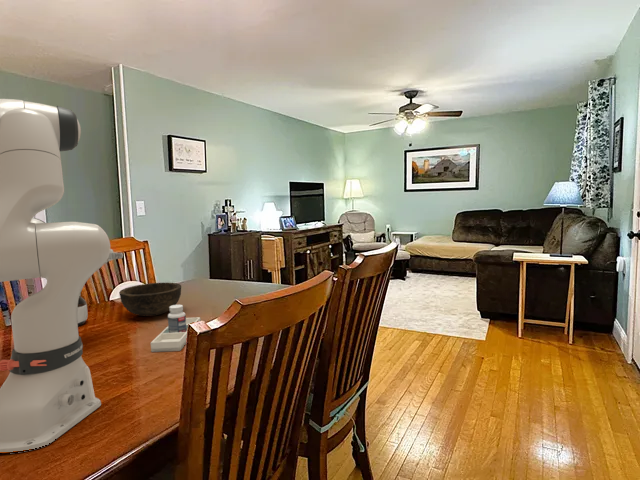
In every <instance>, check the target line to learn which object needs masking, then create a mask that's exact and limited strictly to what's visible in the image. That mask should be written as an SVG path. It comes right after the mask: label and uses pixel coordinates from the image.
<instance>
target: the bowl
mask: <svg viewBox="0 0 640 480" xmlns="http://www.w3.org/2000/svg"><path fill="white" fill-rule="evenodd" d="M181 294H182V284H180V283H177V282H152V283H151V282H150V283H144V284H142V283H141V284H137V285H132V286H128V287H125V288H123V289H121V290H120V291H119V297H120V301H121V304H122V306H123V307H124V308H125V309H126V310H127V311H128V312H130V313H132V314H134V315H137V316H141V317H154V316H159V315H162V314H163V315H164V314H165V313H168V311H169V312H170V309H169V307H170V306H172V305H178V302H179V300H180V298H181Z"/></svg>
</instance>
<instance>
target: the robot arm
mask: <svg viewBox="0 0 640 480" xmlns="http://www.w3.org/2000/svg"><path fill="white" fill-rule="evenodd" d="M81 129H82V128H81V124H80V122H79V119H78V117H77V114H76V113H74V111H73V110H72V109H69V108H67V107H63V106H61V105H59V106H58V105H57V106H53V105H50V104H44V103H39V102H33V101H26V100H22V99H13V98H0V283H2V282H10V281H20V280H21V281H22V280H30V279H37V278H41V279H45V280H46V284H45V285H44V287H43V288H42V289H41V290H39V291H37V292H35V293H34V294H32V295H30V296H28V297H26V298H25V299H23V300H22V301H20V302H19V303H18V304H17V305H15V307H14V309H12V312H11V315H10V321H11V329H12V338H13V340H12V341H13V346H14V348H13V349H12V351H11V356H10V359H1V360H0V371H9V374H8V376H7V377H6V379H5V381H4V382H3V384H2V385H1V386H0V452H13V451H23V450H29V449H34V450H36V449H35V448H37V449H40V448H39V447H41V448H43V447H42V446H44V447H46V446H45V445H47V446H48V445H50V444H51V443H52V442H54V441H56V440H57V439H58V438H59V437H61V436H62V435H64V434H65V433H66V432H68V431H69V430H71V429H72V428H73V427H75V425H77V424H78V423H80V422H81V421H82V420H84V419H85V418H86V417H87V416H89V415H90V414H92V413H93V412H94V411H96V410H97V409H98V408H100V407H101V405H102V401H101V399H100V398H98V397H96V394H95V391H94V390H95V389H94V385H93V379H92V374H91V370H90V367H89V366H88V365H87V364H86V362H85V361H84V359H83V357H82V355H83V353H84V351H83V348H84V345H83V341H82V337H81V336H79V326H78V317H77V312H78V300H79V296H80V297H81V292H82V290H83V288H84V286H85V284H86V283H87V282H88V281H89V279H90V278H91V277H92V276H93V275H94V274H95V273H96V272H97V271H98V270H99V269H101V268H102V267H103V266H104V265H105V264H108V263H109V262H111V261H113V260H120V259H123V258H124V255H123V252H115V251H114V250H113V249H112V248H111V241H110V239H109V236H108V234H107V233H106V231H105V230H104V229H103V228H102V227H101V226H100V225H98V224H95V223H90V222H89V223H88V222H80V221H62V222H61V221H57V222H45V221H43V220H41V219H40V218H35V216H36V215H37V214H39V213H40V212H43V211H45V210H47V209H49V208H51V207H53V206H54V205H56V204H57V203H59V202H60V201H61V200H62V198H63V196H64V194H65V185H64V175H63V167H62V157H61V152H68V151H72V150H74V149H75V148H77V146H78V144H79V141H80V139H81V135H82V130H81ZM55 439H56V440H55ZM49 443H50V444H49ZM29 451H30V450H29Z"/></svg>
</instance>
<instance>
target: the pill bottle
mask: <svg viewBox="0 0 640 480" xmlns="http://www.w3.org/2000/svg"><path fill="white" fill-rule="evenodd" d="M169 309H170V310H169V313H168V314H167V324H168V325H167V327H168V329H169V333H175V332H186V318H187V317H186V313H185V312H184V306H183V304H176V305H172V306H170V307H169Z"/></svg>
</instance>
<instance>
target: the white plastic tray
mask: <svg viewBox="0 0 640 480" xmlns="http://www.w3.org/2000/svg"><path fill="white" fill-rule="evenodd" d="M197 321H201V317H200V316H198V317H196V316H195V317H186V332H175V333H169V329H168V326H166V327H165V328H164V329H163V330H162V331H161V332H160V333H159V334H158V335H157V336H156V337H155V338H154V339H153V340H152V341H151V342H150V352H151V353H159V352H160V353H162V352H165V353H166V352H180V351H182V349H183V348H184V347H185V346H186V345H187V343H186V338H187V328H188V324H190V323H192V322H197ZM184 345H185V346H184Z"/></svg>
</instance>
